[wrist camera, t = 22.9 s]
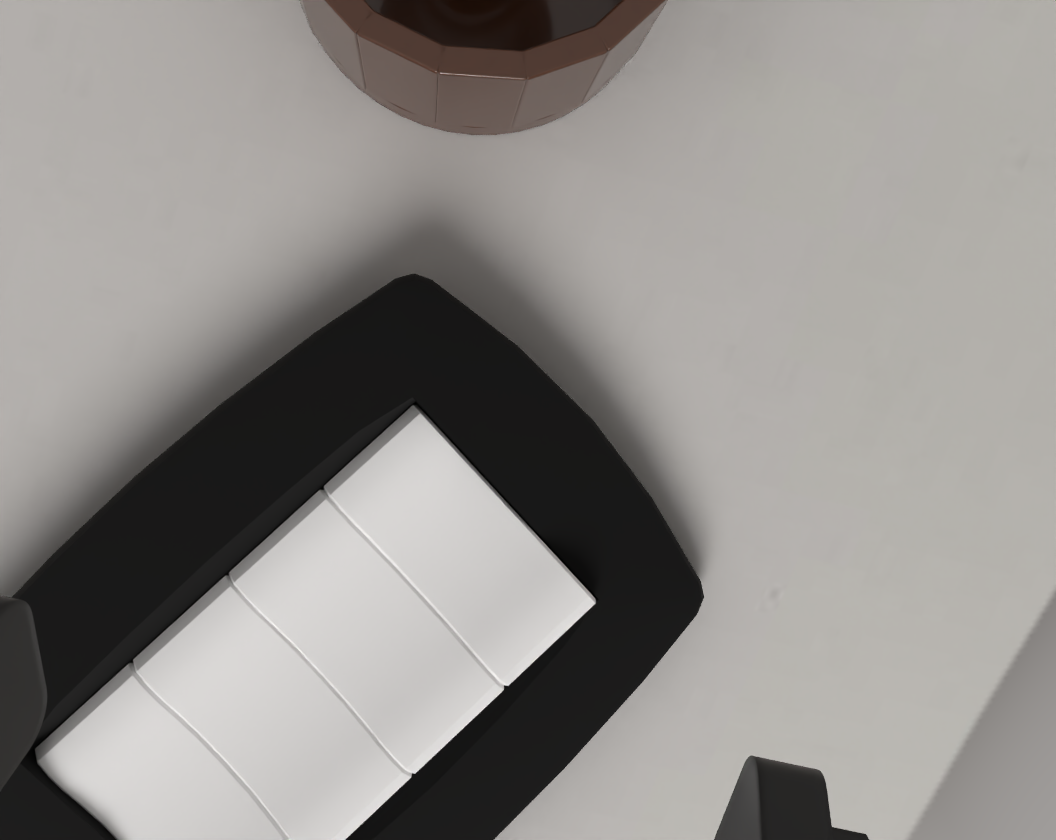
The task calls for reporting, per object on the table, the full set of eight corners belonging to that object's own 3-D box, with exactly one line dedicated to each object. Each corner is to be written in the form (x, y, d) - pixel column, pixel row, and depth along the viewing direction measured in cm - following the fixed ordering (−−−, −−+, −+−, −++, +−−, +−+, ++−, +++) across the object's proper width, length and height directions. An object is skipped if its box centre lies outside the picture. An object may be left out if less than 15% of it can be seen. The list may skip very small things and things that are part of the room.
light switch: (220, 1134, 26) (-204, 774, 23) (234, 1054, 29) (-142, 726, 26) (768, 609, 27) (421, 216, 25) (728, 583, 30) (415, 228, 27)
